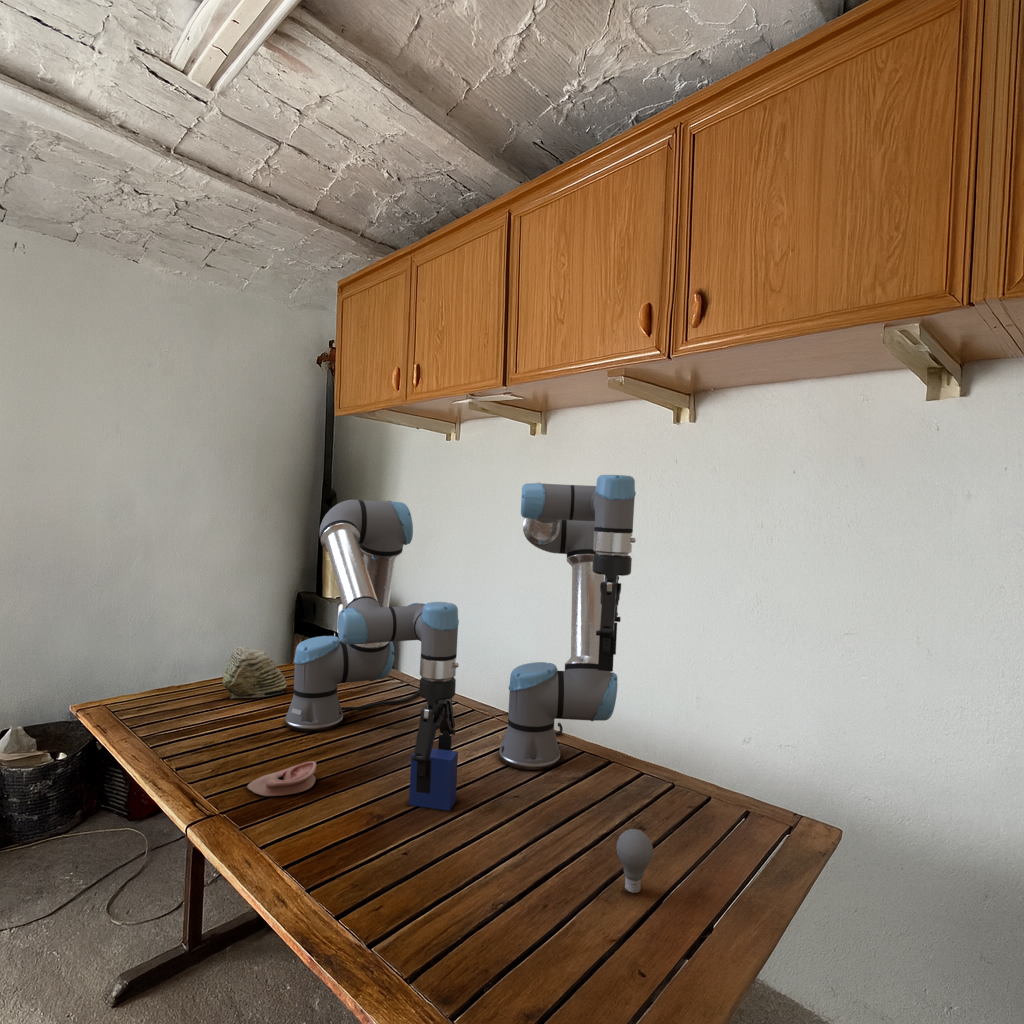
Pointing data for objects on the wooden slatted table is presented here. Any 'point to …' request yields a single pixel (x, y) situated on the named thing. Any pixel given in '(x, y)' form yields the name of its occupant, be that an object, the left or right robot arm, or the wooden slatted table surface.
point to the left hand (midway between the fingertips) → (434, 778)
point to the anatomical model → (285, 781)
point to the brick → (436, 781)
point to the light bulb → (634, 857)
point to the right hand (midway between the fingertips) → (607, 661)
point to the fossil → (252, 674)
